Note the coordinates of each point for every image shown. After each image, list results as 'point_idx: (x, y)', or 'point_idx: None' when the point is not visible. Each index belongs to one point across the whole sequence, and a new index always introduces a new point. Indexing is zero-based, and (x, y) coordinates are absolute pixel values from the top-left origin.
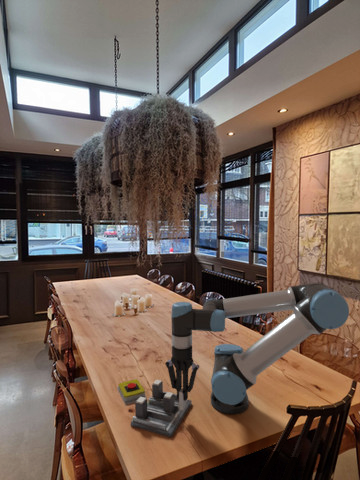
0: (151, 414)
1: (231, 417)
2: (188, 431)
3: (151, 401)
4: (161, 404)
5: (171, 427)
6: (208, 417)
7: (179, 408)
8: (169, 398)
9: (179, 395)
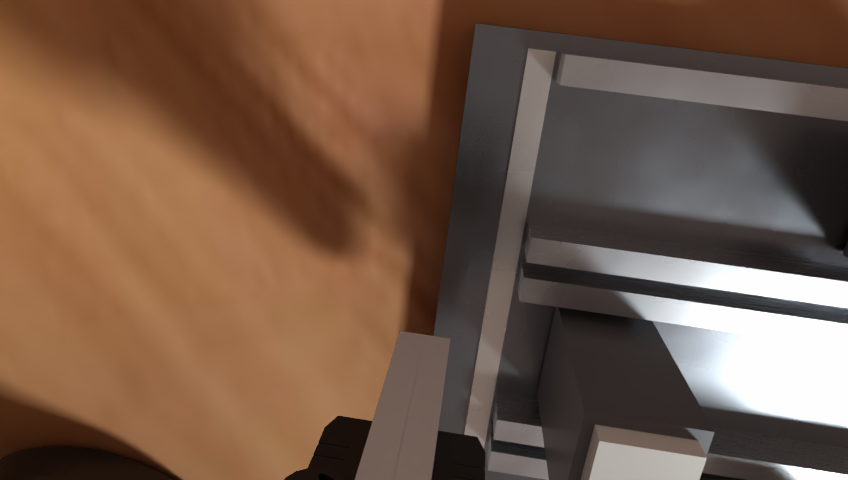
0: (794, 263)
1: (31, 411)
2: (329, 159)
3: (844, 463)
4: None
5: (498, 120)
6: (210, 378)
7: (445, 344)
8: (605, 428)
9: (426, 461)
